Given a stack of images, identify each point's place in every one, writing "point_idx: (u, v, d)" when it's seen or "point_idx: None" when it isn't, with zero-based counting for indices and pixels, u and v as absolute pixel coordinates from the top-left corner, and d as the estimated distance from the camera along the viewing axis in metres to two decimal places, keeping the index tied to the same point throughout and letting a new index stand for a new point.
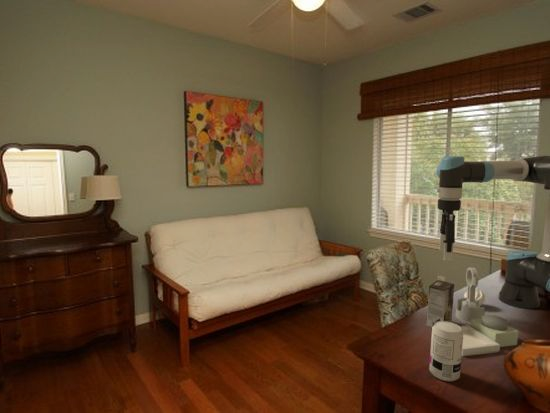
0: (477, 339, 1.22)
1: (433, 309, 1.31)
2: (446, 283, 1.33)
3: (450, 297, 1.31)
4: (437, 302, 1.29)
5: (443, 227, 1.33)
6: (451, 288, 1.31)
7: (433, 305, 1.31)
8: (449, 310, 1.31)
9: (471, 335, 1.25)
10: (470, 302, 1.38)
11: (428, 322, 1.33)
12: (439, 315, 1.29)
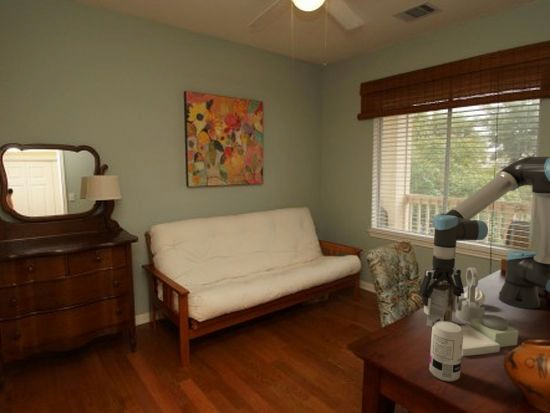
0: (477, 339, 1.22)
1: (433, 309, 1.31)
2: (446, 283, 1.33)
3: (450, 297, 1.31)
4: (437, 302, 1.29)
5: None
6: (451, 288, 1.31)
7: (433, 305, 1.31)
8: (449, 310, 1.31)
9: (471, 335, 1.25)
10: (470, 302, 1.38)
11: (428, 322, 1.33)
12: (439, 315, 1.29)
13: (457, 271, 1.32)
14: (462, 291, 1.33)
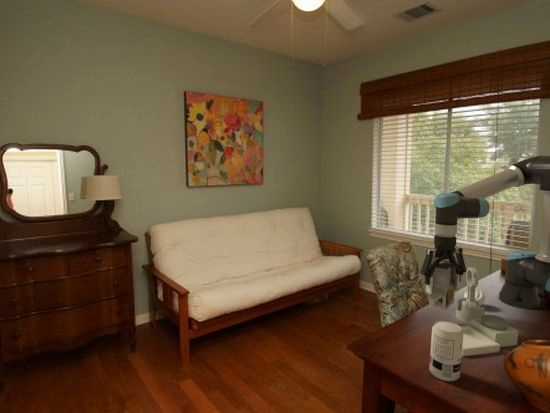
0: (477, 339, 1.22)
1: (435, 288, 1.30)
2: (448, 262, 1.32)
3: (452, 276, 1.30)
4: (439, 281, 1.28)
5: None
6: (453, 267, 1.30)
7: (435, 284, 1.30)
8: (451, 289, 1.30)
9: (471, 335, 1.25)
10: (470, 302, 1.38)
11: (430, 301, 1.32)
12: (441, 293, 1.28)
13: (459, 249, 1.31)
14: (464, 270, 1.32)
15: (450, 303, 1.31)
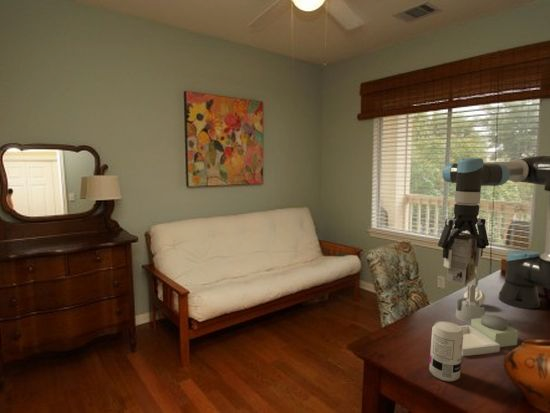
0: (477, 339, 1.22)
1: (454, 261, 1.18)
2: (469, 234, 1.21)
3: (473, 249, 1.18)
4: (458, 253, 1.17)
5: None
6: (474, 239, 1.18)
7: (454, 257, 1.18)
8: (472, 263, 1.19)
9: (471, 335, 1.25)
10: (470, 302, 1.38)
11: (448, 277, 1.20)
12: (461, 267, 1.17)
13: (481, 220, 1.19)
14: (487, 243, 1.20)
15: (470, 279, 1.20)
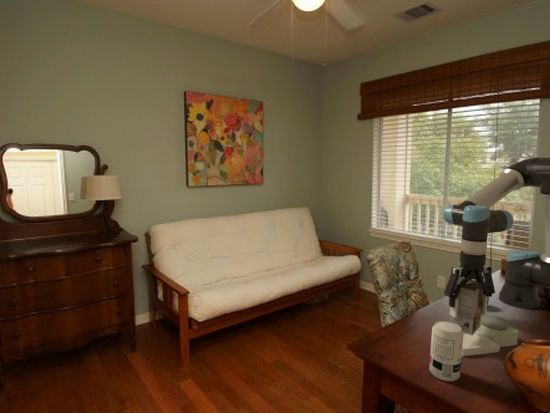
0: (477, 339, 1.22)
1: (461, 311, 1.16)
2: (475, 282, 1.19)
3: (480, 298, 1.17)
4: (465, 303, 1.15)
5: None
6: (481, 287, 1.16)
7: (461, 306, 1.16)
8: (478, 312, 1.17)
9: (471, 335, 1.25)
10: None
11: None
12: (467, 317, 1.15)
13: (488, 268, 1.17)
14: (493, 291, 1.19)
15: (477, 328, 1.18)
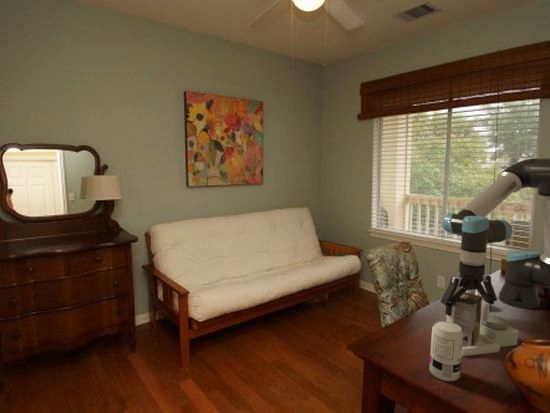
0: None
1: (459, 324, 1.17)
2: (473, 295, 1.20)
3: (478, 312, 1.17)
4: (464, 317, 1.16)
5: (479, 293, 1.20)
6: (479, 301, 1.17)
7: (459, 320, 1.17)
8: (477, 326, 1.18)
9: None
10: None
11: None
12: (466, 331, 1.16)
13: (487, 277, 1.18)
14: (495, 298, 1.19)
15: (475, 341, 1.18)
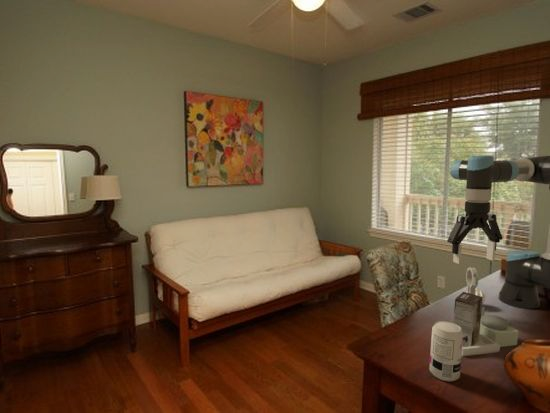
0: None
1: (460, 325, 1.17)
2: (473, 296, 1.20)
3: (478, 312, 1.17)
4: (464, 317, 1.16)
5: (485, 232, 1.22)
6: (480, 302, 1.17)
7: (459, 320, 1.17)
8: (477, 326, 1.18)
9: None
10: None
11: None
12: (466, 332, 1.16)
13: (492, 216, 1.20)
14: (500, 237, 1.21)
15: (475, 342, 1.18)
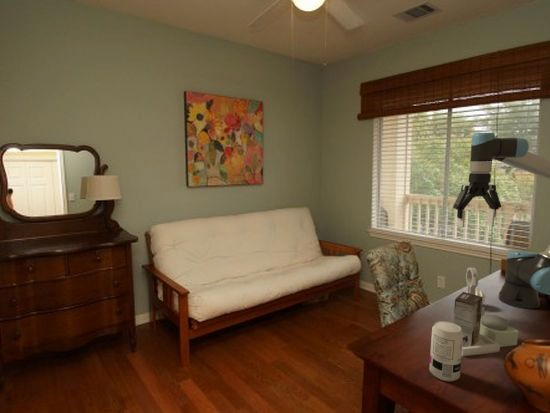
0: None
1: (460, 325, 1.17)
2: (473, 296, 1.20)
3: (478, 312, 1.17)
4: (464, 317, 1.16)
5: (486, 201, 1.40)
6: (480, 302, 1.17)
7: (459, 320, 1.17)
8: (477, 326, 1.18)
9: None
10: None
11: None
12: (466, 332, 1.16)
13: (492, 186, 1.38)
14: (499, 205, 1.39)
15: (475, 342, 1.18)
